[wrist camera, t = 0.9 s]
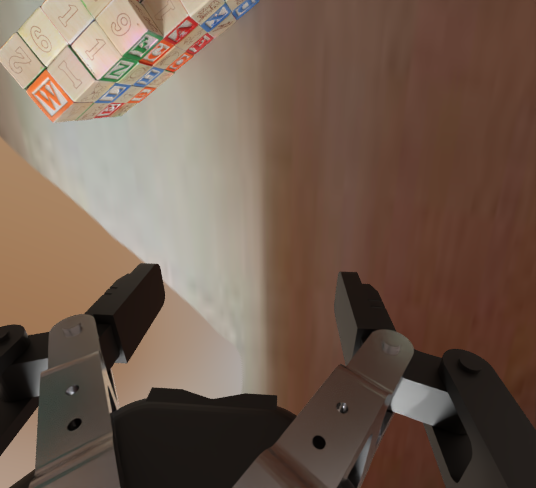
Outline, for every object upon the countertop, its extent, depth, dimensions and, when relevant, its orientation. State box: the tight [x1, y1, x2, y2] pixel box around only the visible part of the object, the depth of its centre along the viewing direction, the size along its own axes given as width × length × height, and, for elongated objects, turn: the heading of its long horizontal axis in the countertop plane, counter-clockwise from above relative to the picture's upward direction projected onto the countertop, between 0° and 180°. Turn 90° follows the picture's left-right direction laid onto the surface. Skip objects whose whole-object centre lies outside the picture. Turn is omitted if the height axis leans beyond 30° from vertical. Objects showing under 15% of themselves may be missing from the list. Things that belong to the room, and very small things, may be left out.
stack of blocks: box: [0, 0, 259, 123], centre depth 27 cm, size 21×6×12 cm, turn 123°
